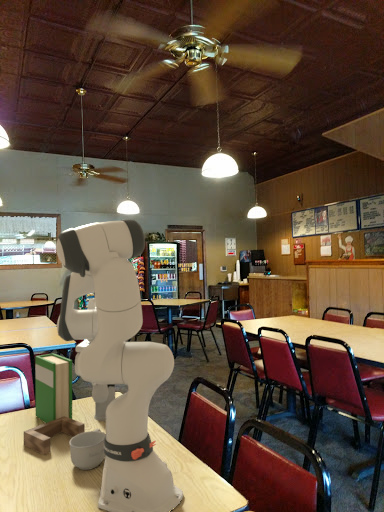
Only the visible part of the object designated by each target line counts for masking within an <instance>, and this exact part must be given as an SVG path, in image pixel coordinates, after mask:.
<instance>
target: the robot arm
mask: <svg viewBox="0 0 384 512" xmlns="http://www.w3.org/2000/svg"><path fill="white" fill-rule="evenodd" d="M56 240H57V241H56V247H55V248H56V249H55V250H56V254H57V258H58V260H59V261H60V263H61V264H62V265H63V267H64V268H65V269H67V270H68V271H70V272H71V273H68V274H67V275H66V277H65V279H64V282H63V288H62V294H61V303H60V311H59V316H58V319H57V322H56V331H57V334H58V336H59V337H60V338H61V339H62V340H63V341H65V342H70V341H71V342H72V341H78V340H83V341H81V342H80V343H78V344H76V346H75V352H76V355H75V359H74V373H75V375H76V376H77V377H80V378H81V379H82V380H83V381H84V382H89V383H91V386H93V385H94V386H95V385H97V384H115V385H126V386H127V387H128V388H127V391H126V392H125V393H123V394H121V395H119V396H118V397H117V396H116V397H115V399H114V400H113V401H111V402H110V404H109V405H108V407H107V409H106V420H105V434H106V436H105V438H104V453H105V455H106V456H105V458H104V464H103V469H102V479H101V487H100V490H99V499H98V502H97V503H98V504H97V507H98V509H101V510H104V511H107V512H169V511H170V510H172V509H173V508H175V507H176V506H177V505H178V504H179V505H180V504H181V502H182V501H181V500H183V497H184V491H183V490H182V489H181V488H179V487H178V486H176V485H175V483H174V477H173V474H172V471H171V469H169V467H168V465H167V463H166V462H165V461H163V460H162V459H161V457H159V455H158V454H157V453H156V452H155V450H154V446H156V445H157V444H156V440H153V441H152V439H151V436H150V434H149V432H148V431H149V429H148V424H149V408H150V404H151V400H152V397H153V396H154V394H155V393H156V391H157V390H158V389H159V387H160V386H161V385H162V384H164V383H165V382H166V381H167V380H168V379H169V378H170V377H171V376H172V373H173V370H174V367H175V359H174V358H175V357H174V355H173V352H172V350H171V349H170V347H169V346H168V345H167V344H164V343H159V342H153V341H129V340H130V339H132V338H133V337H134V336H136V335H137V334H138V333H139V332H140V330H141V328H142V326H143V322H144V321H143V320H144V319H143V317H144V316H143V309H142V308H143V307H142V298H141V291H140V285H139V280H138V276H137V273H136V270H135V268H134V265H133V263H131V261H130V260H133V259H135V258H138V257H139V256H140V255H142V254H143V252H144V250H145V247H146V237H145V233H144V230H143V227H142V226H141V223H139V222H137V220H135V219H129V218H122V219H121V220H112V221H111V220H110V221H102V222H93V223H88V224H85V225H81V226H77V227H75V228H73V227H71V228H68V229H65V230H63V231H61V232H60V233H58V235H57V239H56ZM93 293H94V297H92V298H90V299H89V300H88V302H87V309H75V301H76V300H77V299H79V298H80V297H83V296H85V295H88V294H93ZM180 501H181V502H180ZM179 505H178V506H179ZM178 506H177V507H178ZM177 507H176V508H177ZM176 508H175V509H176Z"/></svg>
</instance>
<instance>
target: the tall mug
mask: <svg viewBox="0 0 384 512" xmlns="http://www.w3.org/2000/svg"><path fill="white" fill-rule="evenodd" d="M115 385H116V384H107V387H108V392H109V395H108V398H107V400H106V401H105V402H101V403H97V402H94V404H95V405H94V407H95V408H94V409H95V413H94V417H93V418H94V419H95V420H97V421H104V422H106V409H107V407H108V405H109V404H110V402H111V401H113V400H114V399H116V387H115Z"/></svg>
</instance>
